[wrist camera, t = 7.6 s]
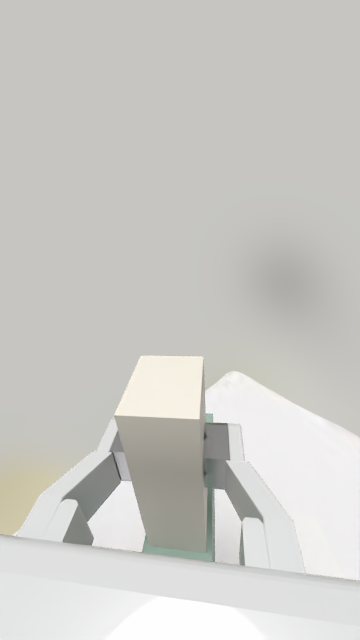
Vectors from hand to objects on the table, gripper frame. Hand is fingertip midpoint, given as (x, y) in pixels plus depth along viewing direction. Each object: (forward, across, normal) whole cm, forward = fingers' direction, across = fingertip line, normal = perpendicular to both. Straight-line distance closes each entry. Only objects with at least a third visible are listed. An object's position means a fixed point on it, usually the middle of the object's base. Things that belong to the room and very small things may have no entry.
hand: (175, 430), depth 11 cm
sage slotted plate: (-1, 0, +16) cm, 17 cm away
